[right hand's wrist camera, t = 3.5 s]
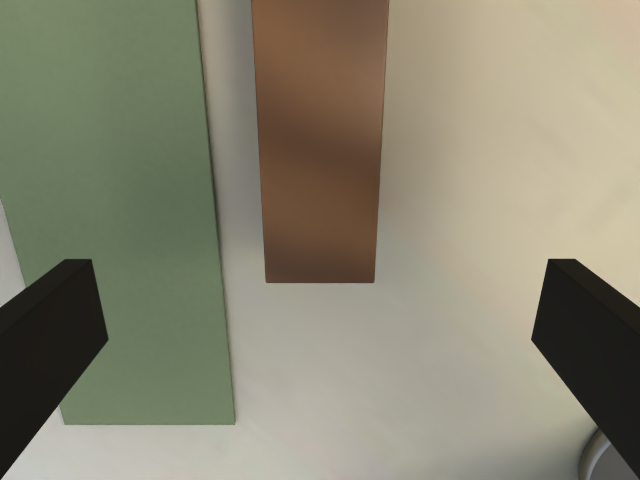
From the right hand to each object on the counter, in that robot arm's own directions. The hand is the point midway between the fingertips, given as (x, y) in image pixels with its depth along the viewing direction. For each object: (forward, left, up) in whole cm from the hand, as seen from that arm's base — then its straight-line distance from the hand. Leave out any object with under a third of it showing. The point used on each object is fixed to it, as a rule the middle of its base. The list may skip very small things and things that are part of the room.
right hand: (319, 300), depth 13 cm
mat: (+14, +3, -17) cm, 22 cm away
